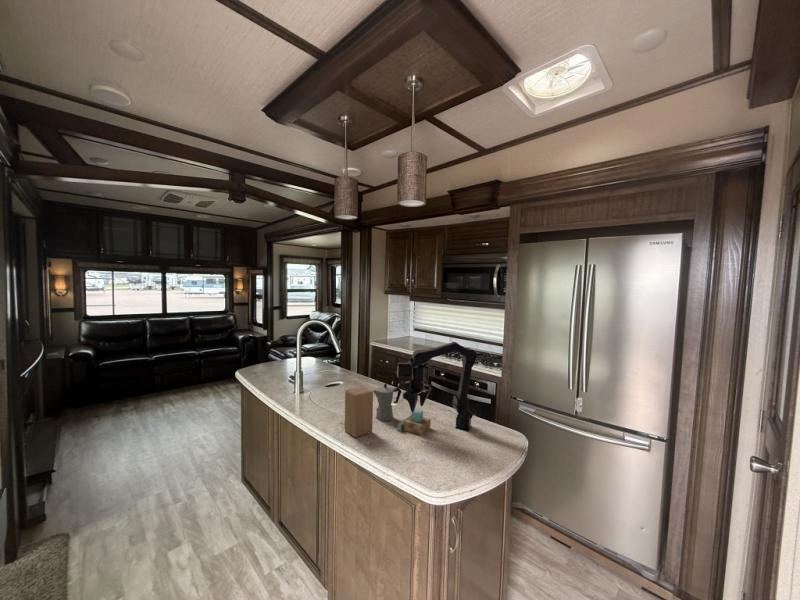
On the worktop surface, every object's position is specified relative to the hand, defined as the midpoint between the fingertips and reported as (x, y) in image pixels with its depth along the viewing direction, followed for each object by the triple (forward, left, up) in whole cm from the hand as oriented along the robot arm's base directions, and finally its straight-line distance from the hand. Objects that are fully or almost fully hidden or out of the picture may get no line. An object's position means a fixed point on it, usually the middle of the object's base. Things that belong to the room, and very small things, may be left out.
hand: (417, 408), depth 154 cm
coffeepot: (+20, -3, -10) cm, 22 cm away
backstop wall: (+6, 0, -10) cm, 12 cm away
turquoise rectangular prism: (0, 0, -10) cm, 10 cm away
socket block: (0, 0, -10) cm, 10 cm away
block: (+22, +18, -10) cm, 30 cm away
